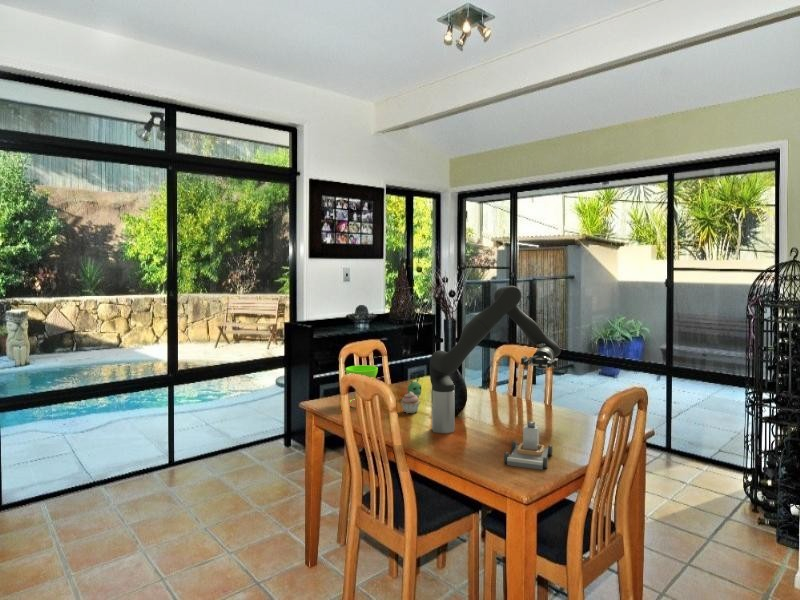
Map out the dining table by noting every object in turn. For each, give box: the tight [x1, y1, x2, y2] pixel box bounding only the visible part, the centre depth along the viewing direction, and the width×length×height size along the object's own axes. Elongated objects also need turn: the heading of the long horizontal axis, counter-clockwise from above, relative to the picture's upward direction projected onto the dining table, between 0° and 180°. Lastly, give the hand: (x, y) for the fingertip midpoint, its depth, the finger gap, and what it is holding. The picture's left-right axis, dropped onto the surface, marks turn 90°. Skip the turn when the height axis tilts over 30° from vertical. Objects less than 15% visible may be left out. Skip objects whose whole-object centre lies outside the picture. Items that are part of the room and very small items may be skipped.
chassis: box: [503, 440, 554, 471], centre depth 197 cm, size 18×14×4 cm
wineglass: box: [345, 364, 379, 402], centre depth 274 cm, size 16×16×18 cm
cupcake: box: [400, 391, 421, 414], centre depth 259 cm, size 9×9×10 cm
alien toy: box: [407, 378, 422, 398], centre depth 285 cm, size 7×8×10 cm
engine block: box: [522, 420, 540, 451], centre depth 201 cm, size 5×5×10 cm
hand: (537, 364), depth 217 cm, fingers open, 8 cm apart
